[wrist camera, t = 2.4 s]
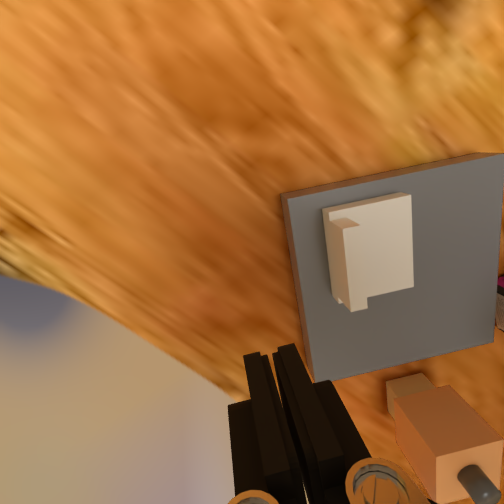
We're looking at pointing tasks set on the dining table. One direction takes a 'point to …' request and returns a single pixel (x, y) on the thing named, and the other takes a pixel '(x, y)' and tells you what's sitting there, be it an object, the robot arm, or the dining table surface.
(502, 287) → the candy bar box
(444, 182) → the socket plate
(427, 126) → the dining table surface
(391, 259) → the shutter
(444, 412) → the plug
